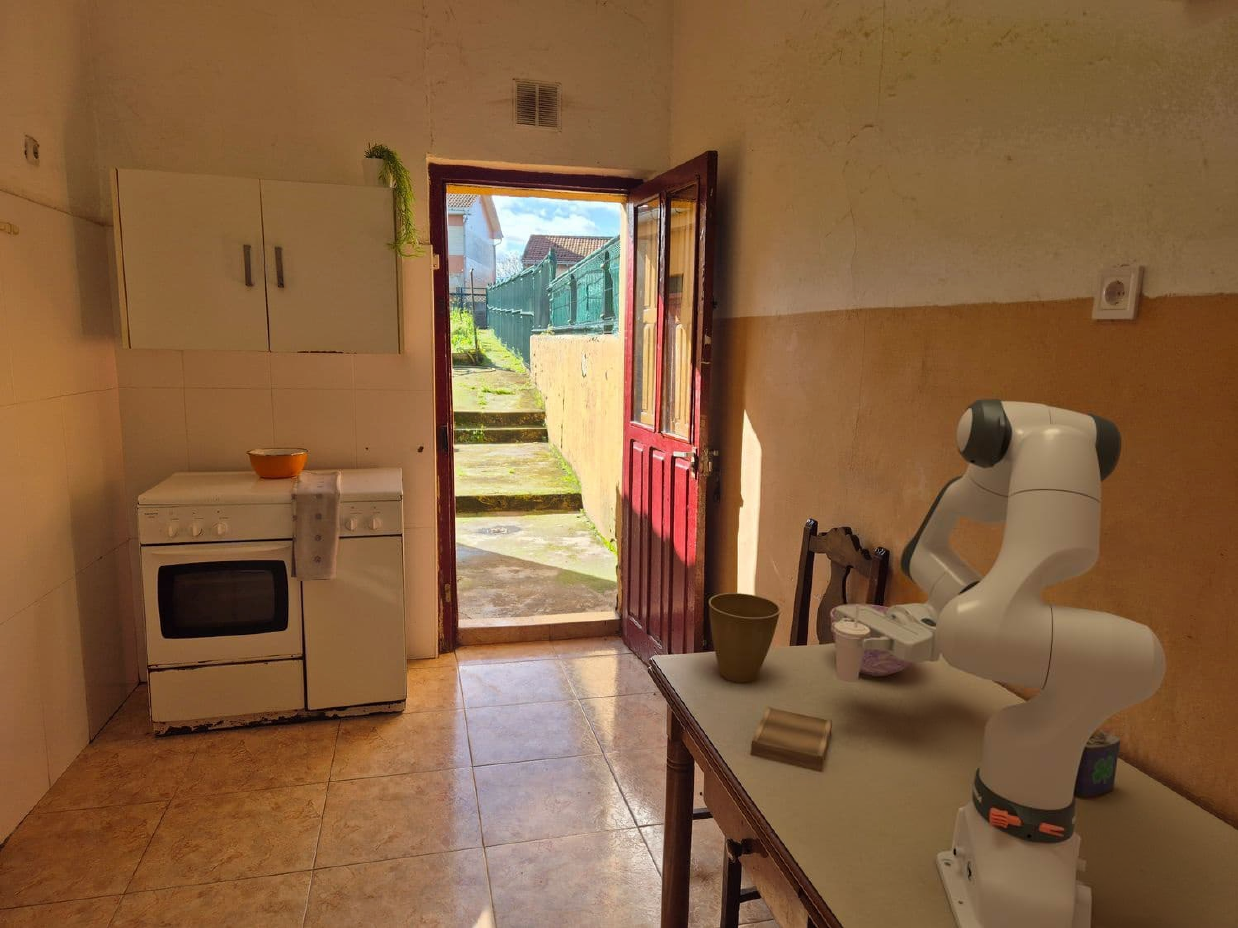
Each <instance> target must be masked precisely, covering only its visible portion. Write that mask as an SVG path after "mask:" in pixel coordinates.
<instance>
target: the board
mask: <svg viewBox="0 0 1238 928" xmlns="http://www.w3.org/2000/svg"><path fill="white" fill-rule="evenodd" d="M832 727H833V720H832V719H828V718H827V719H823V718H820V717H815V716H809V715H805V714H801V713H796V712H792V711H786V710H781V709H777V708H773V707H771V706H767V707H766V709H765V711H764V713H763V715H762V717H761V720H760V722H759V724H758V727H757V729H756V731H755V733H754V736H753V738H752V740H751V744H750V745H751V747H750V755H751V756H755V757H759V758H763V759H767V760H771V761H776V762H781V763H785V764H789V765H793V766H797V767H801V768H805V769H810V770H814V771H818V772H822V771H823V767H824V764H825V760H826V755H827V751H828V747H829V744H830V743H829V742H830V741H831V740H830V739H831V736H832V730H833V729H832Z"/></svg>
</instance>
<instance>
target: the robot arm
mask: <svg viewBox="0 0 1238 928" xmlns="http://www.w3.org/2000/svg"><path fill="white" fill-rule="evenodd" d="M956 441H957V449H958V454H959V455H960V456H961V457H962V459H963V460H964V461H965V462H968V463H969V464H968V466H967V469H966V471H965V473H964V474H963V475H959V476H956V477H953V478H952V479H951V480H949V481H947V483H946V484H945V485H943V487H942V488H941V490H940V491H939V493H938V494H937V496H936V497H935V499H934V501H933V503H932V505H931V506H930V508H929V510H928V512H927V514H926V515H925V517H924V519H923V521H922V522H921V523H920V526H919V528H918V530H917V531H916V533H915V534H914V535H913V537H912V538H911V539H910V540H909V542H907V544H906V545H905V546H904V548H903V550H902V553H901V557H900V569H901V572H902V573H903V574H904V575H905V576H906V577H907V578H908V579H910V581H912V582H913V583H914V584H916V585H917V586H918V587H919V589H921V591H923V593H924V594H926V596H927V597H928V599H927V601H926V602H925V603H920V602H913V603H906V604H905V603H904V604H896V605H895V604H894V605H892V606H890V607H889V609H888V610H887V611H886V613H885V614H884V613H882V612H879V611H877V610H875V609H873V608H871V607H868V606H860V605H859V613H858V622H857V623H860V624H863V625H865V626H867V627H868V628H869V629H870V636H869V637H861V638H860V639H859V642H860V643H859V646H860V647H862V648H863V649H865V650H867V649H875V650H881V651H886V652H887V653H889V654H891V655H893V656H895V657H897V658H899V659H901V660H902V661H905V662H911V663H912V664H913V663H923V662H938V661H940V657H941V656H942V657H943V659H944V660H945V662H946V664H948V665H949V666H950V667H952V668H955V669H957V670H960V671H962V672H965V673H967V674H970V675H972V676H975V677H978V678H981V679H983V680H987V681H994V682H997V683H998V682H999V683H1003V684H1009V685H1014V686H1019V687H1025V688H1029V689H1035V690H1040V692H1039V693H1038V694H1037V695H1035V696H1034V697H1032V698H1031V699H1029V700H1027V701H1024V702H1020V703H1015V704H1011V705H1007V706H1005V707H1002V708H1001V709H999V710H997V711H996V712H995V713H994V714H992V715H991V716H990V718H989V719H988V720H987V722H986V724H985V726H984V731H983V732H984V733H983V740H982V747H981V755H980V764H979V767H978V768H977V769H976V771H975V774H974V778H973V780H972V781H973V782H972V793H971V794H972V795H971V800H970V801H969V802H967V803H966V804H964V805H962V806H961V807H960V808H958V810H957V815H956V819H955V820H956V821H955V826H954V833H953V837H952V844H951V850H945V851H940V852H938V853H937V855H936V859H935V865H936V866H937V870H938V873H939V876H940V879H941V882H942V884H943V887H944V891H945V893H946V894H945V895H946V897H947V900H948V903H949V906H950V908H951V911H952V915H953V917H954V920H955V924H956V925H957V928H1091V926H1092V907H1093V906H1092V904H1093V903H1092V902H1093V901H1092V900H1093V899H1092V887H1090V886H1087V885H1084V881H1081V880H1078V879H1076V878H1077V871H1080V872H1083V873H1084V872H1086V870H1087V869H1086V868H1087V867H1086V866H1087V860H1086V859H1085V860H1084V859H1082V858H1079V854H1080V852H1079V851H1080V848H1081V847H1080V846H1081V841H1082V838H1081V837H1080V835H1078V833H1077V832H1076V831H1075V822H1076V819H1077V818H1076V817H1077V808H1076V803H1077V801H1076V797H1075V796H1074V795H1073V793H1074V787H1075V782H1076V777H1077V772H1078V768H1079V764H1080V760H1081V757H1082V753H1083V750H1084V748H1085V745H1086V743H1087V742H1088V740H1089V739H1090V738H1091V737H1092V735H1093V734H1094V733H1095V731H1097V729H1098V728H1099V727H1100V726H1101V725H1102V724H1104V722H1105V721H1107V720H1108V719H1109V718H1110V717H1112V716H1113V715H1115V714H1116V713H1118V712H1121V711H1122V710H1124V709H1126V708H1128V707H1130V706H1133V705H1136V704H1139V703H1142V702H1144V701H1146V700H1148V699H1149V698H1150V697H1152V696H1153V695H1154V694H1155V693H1156V691H1158V689H1159V688H1160V686H1161V685H1162V683H1163V680H1164V679H1165V673H1166V669H1167V661H1166V660H1167V659H1166V654H1165V650H1164V648H1163V645H1162V644H1161V642H1160V639H1159V638H1158V636H1157V635H1156V634H1155V632H1154V631H1153V630H1152V629H1151V628H1150V627H1149V626H1148V625H1146V624H1143V623H1140V622H1137V621H1134V620H1132V619H1128V618H1125V617H1123V616H1120V615H1116V614H1112V613H1109V612H1105V611H1100V610H1092V609H1086V608H1081V607H1080V608H1079V607H1073V606H1066V605H1060V604H1053V603H1049V602H1046V601H1044V600H1043V598H1042V595H1043V594H1042V593H1043V590H1044V589H1045V588H1047V587H1049V586H1050V585H1053V584H1056V583H1062V582H1065V581H1069V580H1072V579H1074V578H1077V577H1079V576H1082V575H1084V574H1086V573H1088V572H1089V571H1090V570H1091V569H1092V568H1093V567H1095V565H1096V563H1097V561H1098V559H1099V556H1100V537H1101V514H1102V482H1104V481H1105V480H1106V479H1107V478H1109V477H1110V476H1111V475H1112V474H1113V473H1114V472H1115V469H1116V468H1117V465H1118V464H1119V460H1120V456H1121V452H1122V436H1121V432H1120V430H1119V429H1118V427H1117V425H1116V424H1115V422H1113V421H1112V420H1110V419H1108V418H1105V417H1103V416H1100V415H1097V414H1093V413H1087V414H1085V413H1080V412H1077V411H1074V410H1070V409H1065V408H1059V407H1056V406H1055V407H1054V406H1049V405H1046V404H1045V403H1039V402H1038V403H1037V402H1028V401H1027V402H1026V401H1015V400H1014V401H1009V400H1005V401H1003V400H1001V399H999V398H983V399H977V400H975V401H973V402H972V403H971V404H969V405H968V407H966V409H965V411H964V413H963V414H962V416H961V418H960V420H959V422H958V425H957V429H956ZM962 517H964V518H966V519H969V520H971V521H974V522H977V523H980V524H986V525H1002V524H1005V525H1004V531H1003V537H1002V543H1001V547H1000V550H999V553H998V555H997V558H996V561H994V564H993V565H992V567H991V568H990V570H989V572H987V574H986V575H985V576H984V577H983V576H982V575H981V574H980V573H979V572H978V571H977V569H975V568H974V567H973V566H971V565H970V564H969V563H968V562H967V561H966V560H965V559H964V558H963V557H962V556H961V555H960V554H959V553H958V552H957V551H956V550H955V549H954V547H953V546H952V544H951V541H950V536H951V534H952V532H954V529H955V528H956V526H957V525H958V523H959V521H960V520H961V518H962ZM838 606H839V607H838ZM838 606H836V607H837V608H836V610H835V620H834V622H833V623H831V626H830V627H831V628H830V631H831V632H832V633H833V632H834V625H835V624H836V623H838V622H843V621H848V622H854V620H855V610H856V605H855V606H840V605H838ZM834 633H835V632H834ZM911 663H910V664H911Z"/></svg>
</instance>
